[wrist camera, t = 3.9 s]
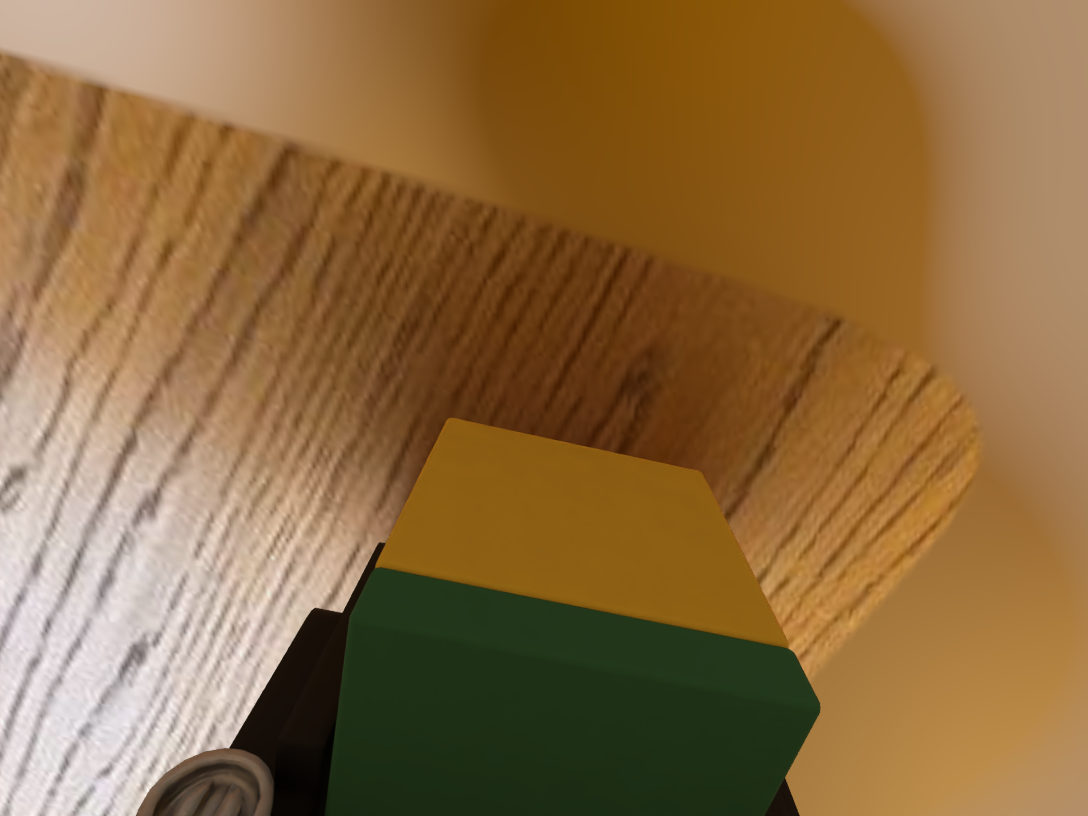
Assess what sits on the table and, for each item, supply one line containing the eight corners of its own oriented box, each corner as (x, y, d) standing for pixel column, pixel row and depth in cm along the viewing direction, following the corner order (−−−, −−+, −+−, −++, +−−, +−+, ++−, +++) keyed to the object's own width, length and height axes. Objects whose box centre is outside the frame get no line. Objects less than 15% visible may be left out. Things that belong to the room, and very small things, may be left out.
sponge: (447, 414, 10) (347, 616, 5) (702, 469, 10) (826, 708, 5) (393, 724, 12) (294, 1043, 8) (596, 762, 13) (618, 1092, 8)
